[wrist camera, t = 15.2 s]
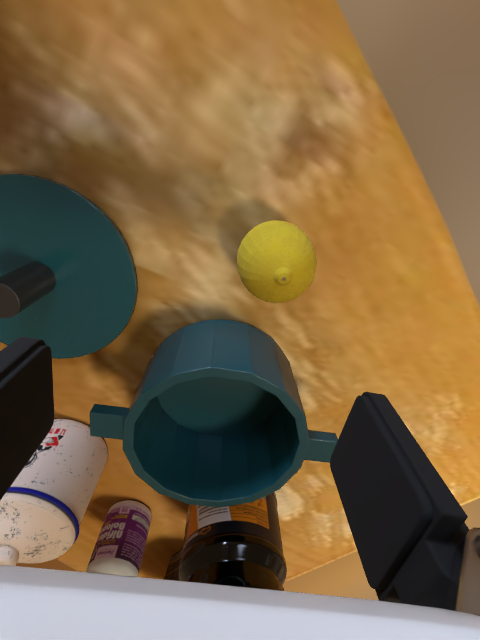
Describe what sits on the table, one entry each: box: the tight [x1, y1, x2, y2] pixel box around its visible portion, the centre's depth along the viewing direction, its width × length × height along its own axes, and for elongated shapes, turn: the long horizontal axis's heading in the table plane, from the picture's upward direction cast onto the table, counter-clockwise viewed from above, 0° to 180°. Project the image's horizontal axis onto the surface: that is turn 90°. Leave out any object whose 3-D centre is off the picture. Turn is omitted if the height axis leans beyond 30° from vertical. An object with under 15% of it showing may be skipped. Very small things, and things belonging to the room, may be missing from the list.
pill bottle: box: [86, 500, 152, 577], centre depth 36 cm, size 5×5×10 cm
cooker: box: [90, 319, 338, 507], centre depth 29 cm, size 14×20×8 cm
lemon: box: [237, 220, 317, 303], centre depth 23 cm, size 6×6×8 cm
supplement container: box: [179, 492, 287, 591], centre depth 34 cm, size 10×10×12 cm
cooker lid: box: [0, 174, 138, 359], centre depth 24 cm, size 15×15×6 cm
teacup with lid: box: [0, 419, 108, 566], centre depth 30 cm, size 12×9×12 cm
